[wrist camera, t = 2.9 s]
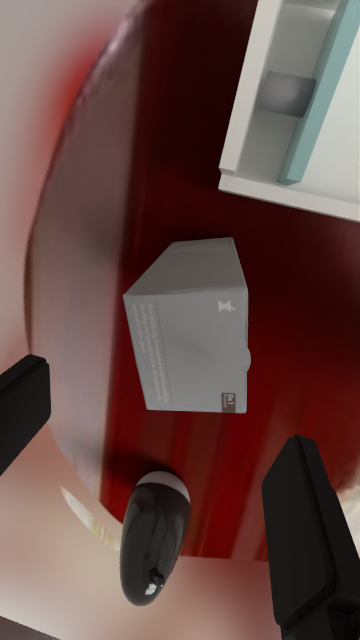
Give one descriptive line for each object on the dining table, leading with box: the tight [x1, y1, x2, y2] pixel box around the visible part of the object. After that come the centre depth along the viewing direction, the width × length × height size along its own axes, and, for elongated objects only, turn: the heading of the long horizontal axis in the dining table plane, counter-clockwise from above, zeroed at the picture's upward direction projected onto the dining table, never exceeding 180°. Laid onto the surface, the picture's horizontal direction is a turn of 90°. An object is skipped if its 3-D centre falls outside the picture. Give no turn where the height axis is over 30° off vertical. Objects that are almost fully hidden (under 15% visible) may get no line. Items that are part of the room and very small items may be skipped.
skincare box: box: [123, 237, 251, 413], centre depth 21 cm, size 8×7×16 cm
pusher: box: [258, 0, 360, 186], centre depth 17 cm, size 4×10×5 cm, turn 168°
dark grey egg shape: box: [120, 471, 191, 606], centre depth 37 cm, size 10×10×15 cm
